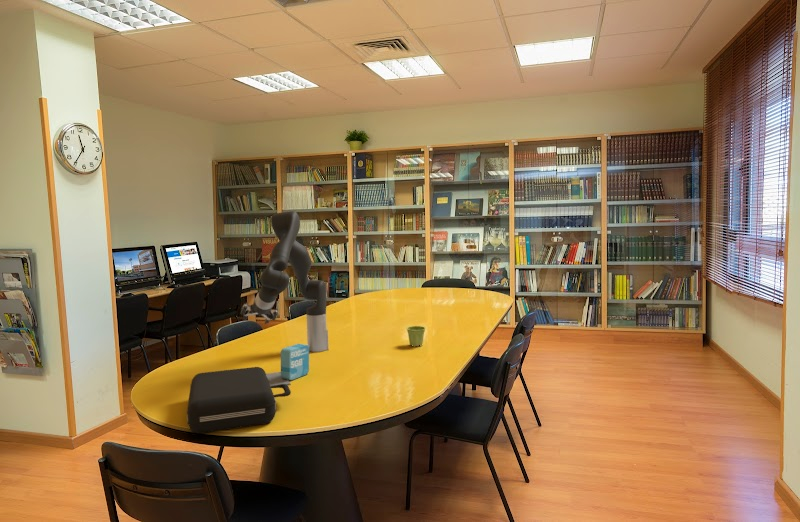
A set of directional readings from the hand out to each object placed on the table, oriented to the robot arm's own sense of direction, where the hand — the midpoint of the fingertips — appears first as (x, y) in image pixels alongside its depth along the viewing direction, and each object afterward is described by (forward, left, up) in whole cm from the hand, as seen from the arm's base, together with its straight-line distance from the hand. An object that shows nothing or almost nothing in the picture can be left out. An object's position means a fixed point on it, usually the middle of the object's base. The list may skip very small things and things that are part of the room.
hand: (255, 320), depth 224 cm
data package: (-11, +23, -20) cm, 32 cm away
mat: (-1, +23, -20) cm, 30 cm away
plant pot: (-75, -2, -20) cm, 78 cm away
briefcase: (+12, +51, -21) cm, 56 cm away
